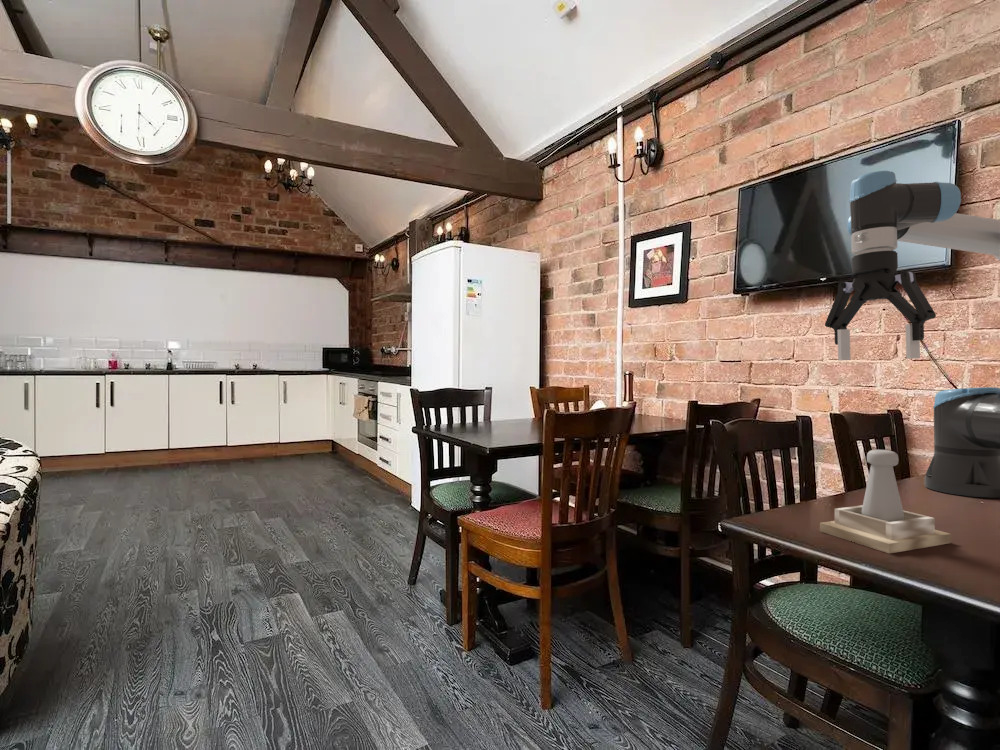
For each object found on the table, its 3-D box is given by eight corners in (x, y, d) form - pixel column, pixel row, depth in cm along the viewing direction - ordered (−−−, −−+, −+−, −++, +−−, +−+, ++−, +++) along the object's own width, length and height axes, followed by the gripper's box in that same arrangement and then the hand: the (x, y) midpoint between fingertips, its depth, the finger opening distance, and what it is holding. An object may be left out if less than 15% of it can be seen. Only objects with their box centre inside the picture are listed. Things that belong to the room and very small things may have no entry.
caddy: (877, 523, 99) (877, 501, 99) (950, 543, 88) (951, 518, 88) (819, 531, 94) (819, 508, 94) (888, 553, 83) (888, 527, 83)
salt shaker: (913, 532, 88) (913, 452, 88) (880, 533, 88) (880, 453, 88) (884, 522, 94) (884, 447, 94) (853, 523, 94) (853, 448, 94)
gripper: (804, 264, 119) (807, 361, 119) (930, 237, 96) (933, 358, 96) (829, 265, 121) (832, 360, 122) (957, 239, 98) (960, 357, 99)
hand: (876, 359), depth 109 cm, fingers open, 13 cm apart
